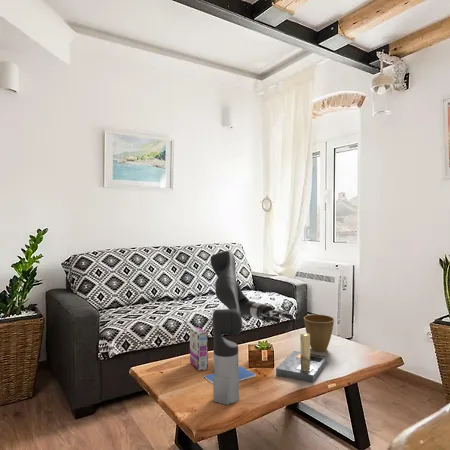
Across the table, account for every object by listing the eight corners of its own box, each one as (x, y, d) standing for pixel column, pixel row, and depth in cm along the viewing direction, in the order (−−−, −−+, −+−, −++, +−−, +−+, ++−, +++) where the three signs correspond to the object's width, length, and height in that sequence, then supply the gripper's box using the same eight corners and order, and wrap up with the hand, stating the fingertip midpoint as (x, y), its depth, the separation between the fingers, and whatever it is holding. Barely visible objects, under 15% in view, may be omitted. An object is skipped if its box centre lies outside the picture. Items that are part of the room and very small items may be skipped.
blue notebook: (218, 389, 151) (218, 386, 151) (202, 378, 162) (202, 375, 162) (257, 377, 162) (257, 374, 162) (239, 368, 172) (239, 365, 172)
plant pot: (298, 346, 198) (298, 316, 198) (322, 343, 204) (322, 313, 203) (315, 356, 184) (314, 323, 184) (340, 352, 190) (340, 320, 189)
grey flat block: (313, 382, 155) (313, 374, 155) (276, 375, 163) (276, 367, 162) (327, 362, 176) (327, 355, 176) (293, 357, 184) (293, 350, 184)
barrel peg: (308, 370, 160) (308, 336, 160) (299, 368, 162) (299, 335, 161) (311, 366, 163) (311, 334, 163) (302, 365, 165) (301, 332, 165)
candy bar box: (208, 369, 170) (208, 332, 170) (198, 371, 168) (197, 334, 167) (199, 361, 180) (199, 326, 180) (189, 362, 178) (189, 327, 178)
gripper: (250, 306, 180) (274, 313, 167) (272, 301, 188) (296, 308, 175) (250, 322, 180) (274, 330, 167) (272, 316, 189) (297, 324, 176)
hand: (286, 318), depth 171 cm, fingers open, 8 cm apart
